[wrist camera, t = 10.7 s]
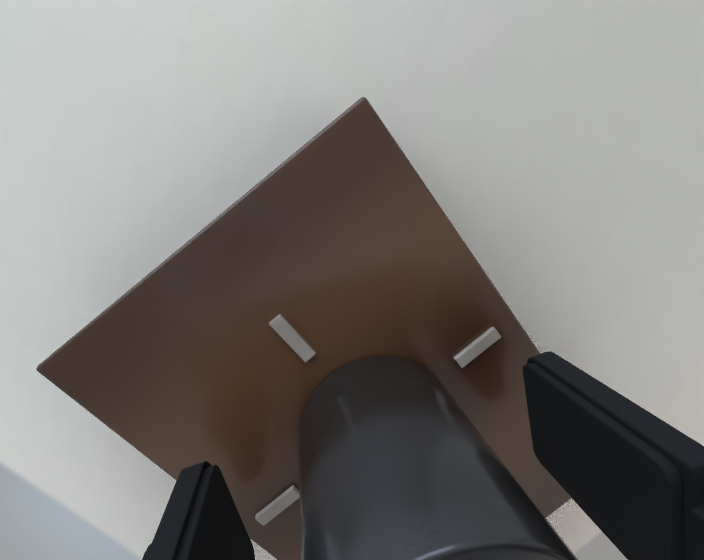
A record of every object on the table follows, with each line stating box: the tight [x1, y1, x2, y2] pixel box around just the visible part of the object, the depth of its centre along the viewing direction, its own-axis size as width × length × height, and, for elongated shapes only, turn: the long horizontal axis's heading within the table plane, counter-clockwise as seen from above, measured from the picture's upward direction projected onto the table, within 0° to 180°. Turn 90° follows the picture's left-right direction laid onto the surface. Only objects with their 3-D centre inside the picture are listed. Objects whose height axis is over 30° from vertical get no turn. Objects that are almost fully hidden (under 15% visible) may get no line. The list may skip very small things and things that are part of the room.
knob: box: [298, 356, 578, 560], centre depth 8 cm, size 4×4×6 cm
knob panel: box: [37, 97, 572, 560], centre depth 12 cm, size 14×10×3 cm
